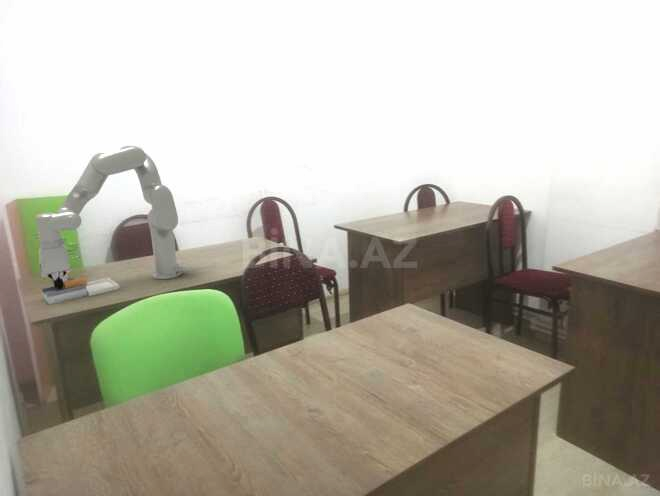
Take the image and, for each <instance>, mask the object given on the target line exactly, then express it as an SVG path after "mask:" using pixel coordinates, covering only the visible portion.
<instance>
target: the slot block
mask: <svg viewBox="0 0 660 496" xmlns="http://www.w3.org/2000/svg"><path fill="white" fill-rule="evenodd" d="M41 293H42V297H43V298H42V299H44V300H45V302H46V303H47V304H48V305H49V304H50V305H54V304H57V302H58V303H61V302H62V301H63V302H66V300H67V301H70V300H74V299H80V298H82V297H86V296H88V295H87V289H86V285H85V284H82V285H78V286H73V287H69V288H63V286H62V289H59V290H58V289H57V288H55V287H54V285H50V286H45V287H41ZM88 297H89V296H88ZM53 303H54V304H53Z"/></svg>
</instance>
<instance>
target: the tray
mask: <svg viewBox="0 0 660 496" xmlns="http://www.w3.org/2000/svg"><path fill="white" fill-rule="evenodd" d="M86 282H87V281H86ZM86 289H87V295H88V297H94V296H99V295H102V294H105V293H110V292H114V291H118V290H120V289H121V288H120V284H119V283H117V282H115V281H114V280H112V279H111V278H109V277H104V278H101V279H97V280H91V281H88V282H87V286H86Z"/></svg>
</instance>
